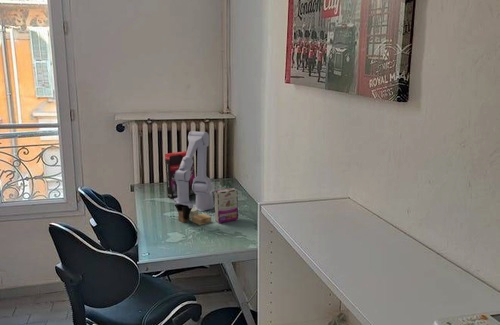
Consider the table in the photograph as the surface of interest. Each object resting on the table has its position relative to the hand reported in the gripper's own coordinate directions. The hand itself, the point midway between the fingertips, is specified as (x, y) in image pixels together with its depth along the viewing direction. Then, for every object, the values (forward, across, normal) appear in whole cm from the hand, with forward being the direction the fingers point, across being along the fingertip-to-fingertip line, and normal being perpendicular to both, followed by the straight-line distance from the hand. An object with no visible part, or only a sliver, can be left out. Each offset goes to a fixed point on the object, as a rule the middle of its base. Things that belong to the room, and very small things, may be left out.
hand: (183, 218), depth 223 cm
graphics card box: (+2, -39, +24) cm, 46 cm away
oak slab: (+2, +7, +6) cm, 9 cm away
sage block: (+2, -2, +7) cm, 7 cm away
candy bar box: (+2, +14, +17) cm, 22 cm away
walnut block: (+2, 0, 0) cm, 2 cm away
